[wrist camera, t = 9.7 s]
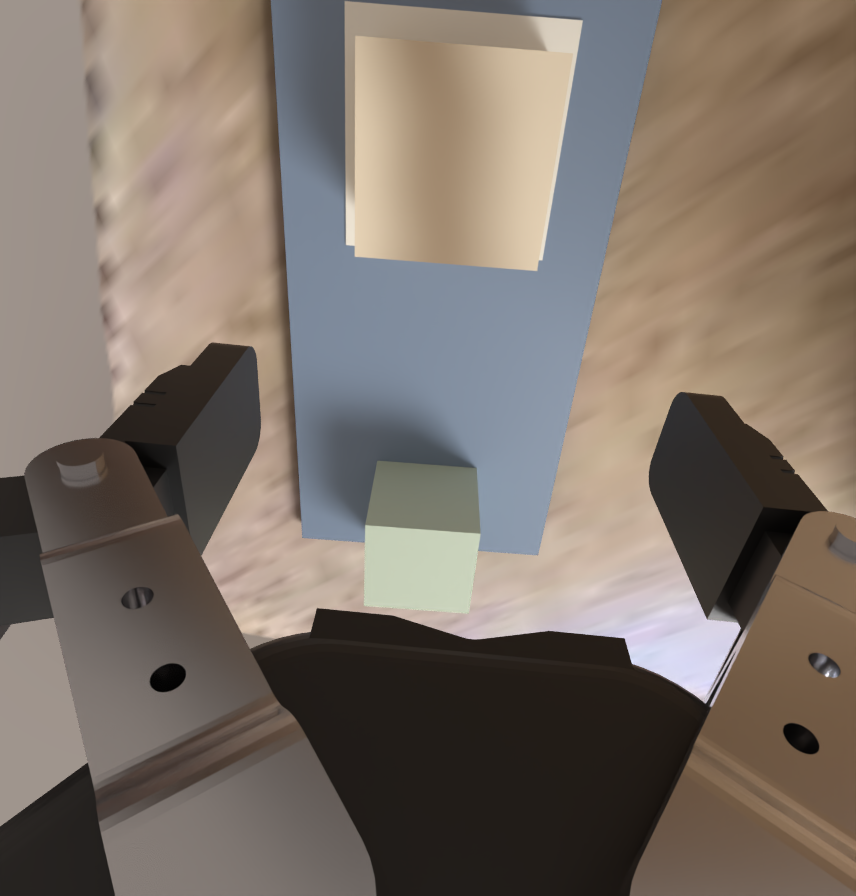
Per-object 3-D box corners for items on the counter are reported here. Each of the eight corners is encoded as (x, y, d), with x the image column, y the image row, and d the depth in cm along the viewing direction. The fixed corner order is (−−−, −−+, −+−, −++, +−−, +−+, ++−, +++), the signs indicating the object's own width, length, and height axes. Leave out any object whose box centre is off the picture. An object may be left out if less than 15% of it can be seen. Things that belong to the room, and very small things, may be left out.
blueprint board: (664, -45, 20) (674, -50, 19) (535, 542, 34) (538, 556, 33) (273, -78, 20) (264, -84, 19) (306, 526, 34) (302, 539, 33)
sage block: (476, 468, 30) (480, 533, 26) (466, 542, 33) (468, 613, 29) (377, 460, 30) (365, 525, 26) (375, 536, 33) (363, 605, 29)
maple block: (548, 54, 21) (573, 53, 17) (522, 234, 24) (537, 271, 20) (374, 40, 21) (354, 35, 17) (371, 221, 24) (354, 256, 20)
